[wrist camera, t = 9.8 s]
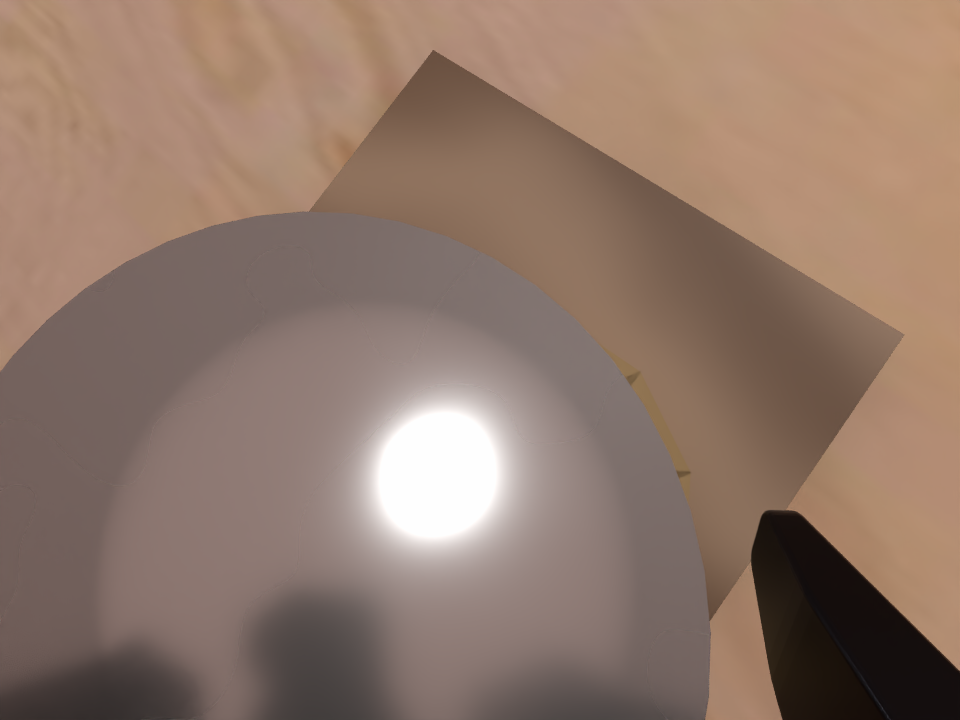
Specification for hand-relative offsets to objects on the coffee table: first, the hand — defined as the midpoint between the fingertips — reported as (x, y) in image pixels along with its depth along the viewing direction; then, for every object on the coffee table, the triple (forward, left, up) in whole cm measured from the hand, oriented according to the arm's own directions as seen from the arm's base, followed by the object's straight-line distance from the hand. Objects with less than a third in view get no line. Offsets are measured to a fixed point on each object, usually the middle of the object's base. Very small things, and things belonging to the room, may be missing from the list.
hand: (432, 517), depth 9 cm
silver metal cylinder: (0, 0, -7) cm, 7 cm away
